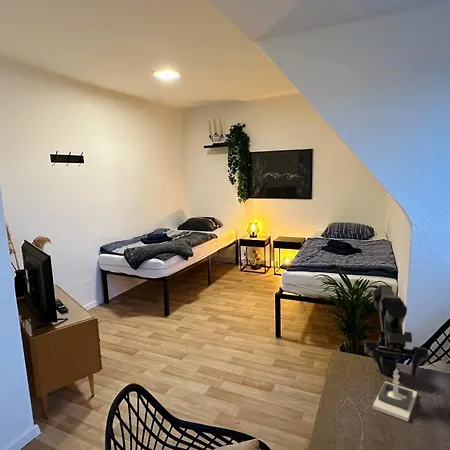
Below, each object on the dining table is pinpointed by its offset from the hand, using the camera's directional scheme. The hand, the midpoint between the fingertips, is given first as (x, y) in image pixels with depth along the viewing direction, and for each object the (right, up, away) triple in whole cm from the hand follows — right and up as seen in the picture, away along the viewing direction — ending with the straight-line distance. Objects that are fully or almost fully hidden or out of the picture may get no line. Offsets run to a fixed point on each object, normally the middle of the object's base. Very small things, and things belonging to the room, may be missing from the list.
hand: (396, 377), depth 105 cm
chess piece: (+1, -8, +2) cm, 8 cm away
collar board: (+1, -9, +2) cm, 9 cm away
